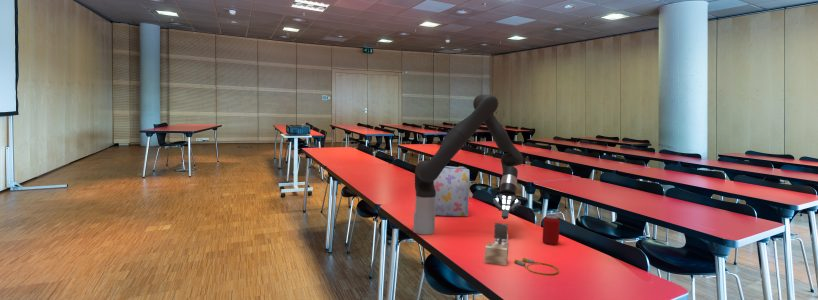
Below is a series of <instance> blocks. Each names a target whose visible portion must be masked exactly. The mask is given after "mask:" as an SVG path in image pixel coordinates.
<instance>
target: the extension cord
mask: <svg viewBox="0 0 818 300" xmlns="http://www.w3.org/2000/svg"><path fill="white" fill-rule="evenodd" d="M526 263H527V265H526ZM514 264H516V265H518V266H523V267H524V268H525V269H526V270H528V271H529V272H531V273H534V274H538V275H542V276H556V275H558V274H559V268H558V267H557V266H555V265H552V264H549V263H545V262H539V261H535V260H533V259H532V258H531V259H530V258H525V257H523V258H522V260H518V259H514ZM537 264H540V265H543V266H544V265H545V266H549V267H552V269H553V268H554V270H555V271H556V272H553V273H546V272H537V271H535V270H534V271H533V270H531V269H529V267H530V266H533V265H537Z"/></svg>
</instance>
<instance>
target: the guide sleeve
mask: <svg viewBox="0 0 818 300" xmlns="http://www.w3.org/2000/svg"><path fill="white" fill-rule="evenodd" d="M498 242H499V239H496V238H494V241H493V243H494V244H498ZM508 244H509V234H508V233H507V240H504V239H502V245H508ZM508 246H509V245H508Z"/></svg>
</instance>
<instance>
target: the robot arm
mask: <svg viewBox="0 0 818 300" xmlns="http://www.w3.org/2000/svg"><path fill="white" fill-rule="evenodd" d="M472 105H473V109H474V110H473V111H472V113H470V114H469V115H468V116H467V117H465V118H464V119H462V120H461V121H459V122H457V123H456V124H455V125H454V126H453V127H452V128H451V129H450V130H449V131H448V133H447V134H446V135H445V136H444V137H443V139H442V142H441V144H440V146H439V148H438V150H437V151H436V152H435V154H434V155H433V156H432V157H431V158H430V159H429V160H422V161H420V162H418V163H417V164H416V166H415V169H414V190H415V206H414V207H415V211H414V212H413V228H412V229H413V231H412V232H413V233H415V234H417V235H422V236H423V235H425V236H426V235H427V236H428V235H433V234H435V225H436V223H435V221H436V215H435V201H436V190H435V188H434V180H436V179H437V177H438V176H439V175H440V173H441V172H442V170H443V169H444V167H445V166H448V164H449V162H450V161H451V160H452V159H453V158H454V157H455V155H457V154H458V153H459V151H461V149H462V148H463V147H464V146H465V145H466V144H467V142H468V141H469V140H470V139H471V138H472V136H473V135H474V134H475V133H476V132H477V130H478V129H479V128H480V127H481V126H483V125H482V124H485V126H486V128H487V129H488V131H489V133H490V135H491V137H492V138H493V141H494V143H495V145H496V147H497V149H498V150H499V151H500V152H502V153H503V154H502V155H501V158H500V162H501V168H502V176H501V180H500V185H499V194H498V195H497V197H496V198H495V197H493V199H492V202H493V204H494V205H495V207H496V209H497V210H498V211H499V212H500V211H501V218H502V219H503V220H507V219H508V218H509V213H510V212H512V213H513V212H514V211H515V210H517V209H518V208H519V207H520V206H521V200H520V199H519V200H518V198H517V188H518V176H519V175H518V173H519V172H518V171H519V170H518V169H517V167H516V166H521V165H522V164H523V163H524V156H523V154H522V152H521V151H520V150H519V148H517V147H516V146H515V145H514V144H513V142H512V140H511V138H510V136H509V134H508V132H507V130H506V129H505V128H504V127H503V125H502V124H501V123H500V122H499V121H498V119H497V118H496V116H495V115H494V114H495V112H496V111H497V110H498V107H499V101H498V98H497V97H496V96H494V95H492V94H479V95H477V96H475V98H474V99H473V101H472Z"/></svg>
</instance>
